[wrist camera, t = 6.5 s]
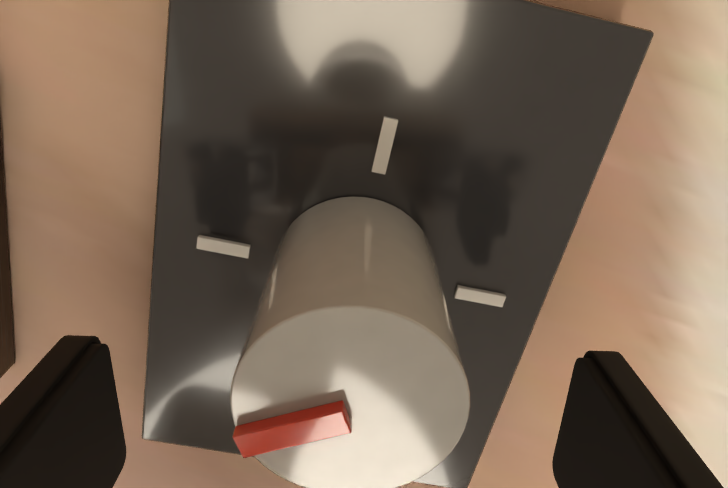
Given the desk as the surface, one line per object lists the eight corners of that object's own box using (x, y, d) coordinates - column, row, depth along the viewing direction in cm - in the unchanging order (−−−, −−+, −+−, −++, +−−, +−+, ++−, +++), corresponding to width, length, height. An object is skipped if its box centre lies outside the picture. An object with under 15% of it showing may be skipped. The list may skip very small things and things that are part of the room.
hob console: (457, 447, 20) (467, 496, 18) (161, 398, 19) (138, 443, 17) (619, 27, 14) (660, 32, 12) (198, -76, 13) (170, -89, 11)
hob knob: (411, 175, 14) (441, 286, 8) (450, 316, 16) (496, 481, 10) (250, 222, 14) (184, 353, 9) (305, 353, 16) (277, 528, 11)
